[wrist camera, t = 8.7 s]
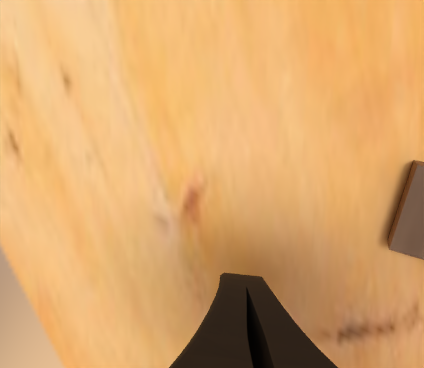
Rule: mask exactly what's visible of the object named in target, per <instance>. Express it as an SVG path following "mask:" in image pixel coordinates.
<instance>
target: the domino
mask: <svg viewBox="0 0 424 368" xmlns="http://www.w3.org/2000/svg"><path fill="white" fill-rule="evenodd" d="M388 245H389V250H393V251H396V252H399V253H403V254H406V255H410V256H413V257H416V258H420V259H423V260H424V162H420V161H415V160H414V162H413V165H412V168H411V171H410V174H409V177H408V180H407V183H406V186H405V189H404V192H403V195H402V198H401V201H400V204H399V207H398V210H397V213H396V216H395V219H394V222H393V225H392V228H391V231H390V234H389V237H388Z"/></svg>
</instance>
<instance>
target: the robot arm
mask: <svg viewBox="0 0 424 368" xmlns="http://www.w3.org/2000/svg"><path fill="white" fill-rule="evenodd" d="M169 368H338V367H337V366H336V365H335V364H334V363H333V362H332V361H330V360H329V359H328V358H327V357H326V356H325V355H324V354H323V353H322V352H321V351H320V350H319V349H318V348H317V347H316V346H315V345H314V344H313V342H312V341H311V340H310V339H309V338H308V337H307V336H306V335H305V333H304V332H303V331H302V330H301V329H300V328H299V327H298V325H297V324H296V323H295V322H294V320H293V319H292V318H291V316H290V315H289V314H288V313H287V311H286V310H285V309H284V307H283V306H282V305H281V303H280V302H279V301H278V299H277V298H276V296H275V295H274V294H273V292H272V291H271V289H270V288H269V286H268V285H267V284H266V282H265V281H264V279H263V278H262V277H259V276H250V275H240V274H231V273H223V274H222V275H220V283H219V288H218V291H217V293H216V296H215V298H214V300H213V303H212V305H211V307H210V309H209V311H208V313H207V315H206V316H205V318H204V320H203V322H202V323H201V325H200V327H199V329H198V330H197V332H196V333H195V335H194V336H193V338H192V339H191V341H190V342H189V343H188V345H187V346H186V347H185V349H184V350H183V351H182V353H181V354H180V355H179V356H178V358H177V359H176V360H175V361H174V362H173V364H172V365H171V366H170V367H169Z"/></svg>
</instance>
